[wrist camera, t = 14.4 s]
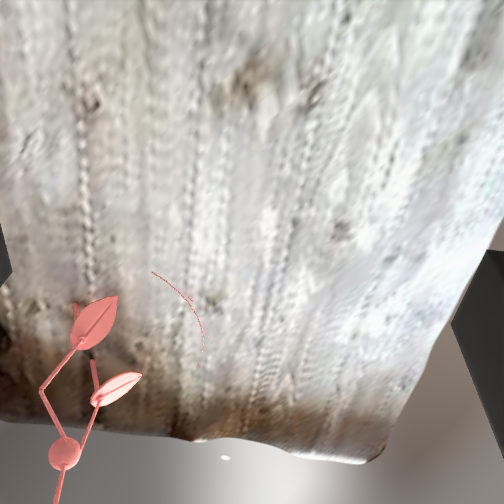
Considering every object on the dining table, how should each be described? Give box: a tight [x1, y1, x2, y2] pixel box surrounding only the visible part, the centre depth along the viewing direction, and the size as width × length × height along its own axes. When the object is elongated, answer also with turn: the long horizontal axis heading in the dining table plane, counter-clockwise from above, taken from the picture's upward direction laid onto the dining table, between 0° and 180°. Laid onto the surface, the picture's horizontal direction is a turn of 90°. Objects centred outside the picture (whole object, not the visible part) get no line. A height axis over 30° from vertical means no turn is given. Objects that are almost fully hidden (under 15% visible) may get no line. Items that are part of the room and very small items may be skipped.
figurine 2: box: [38, 272, 208, 504], centre depth 39 cm, size 15×26×35 cm, turn 1°
